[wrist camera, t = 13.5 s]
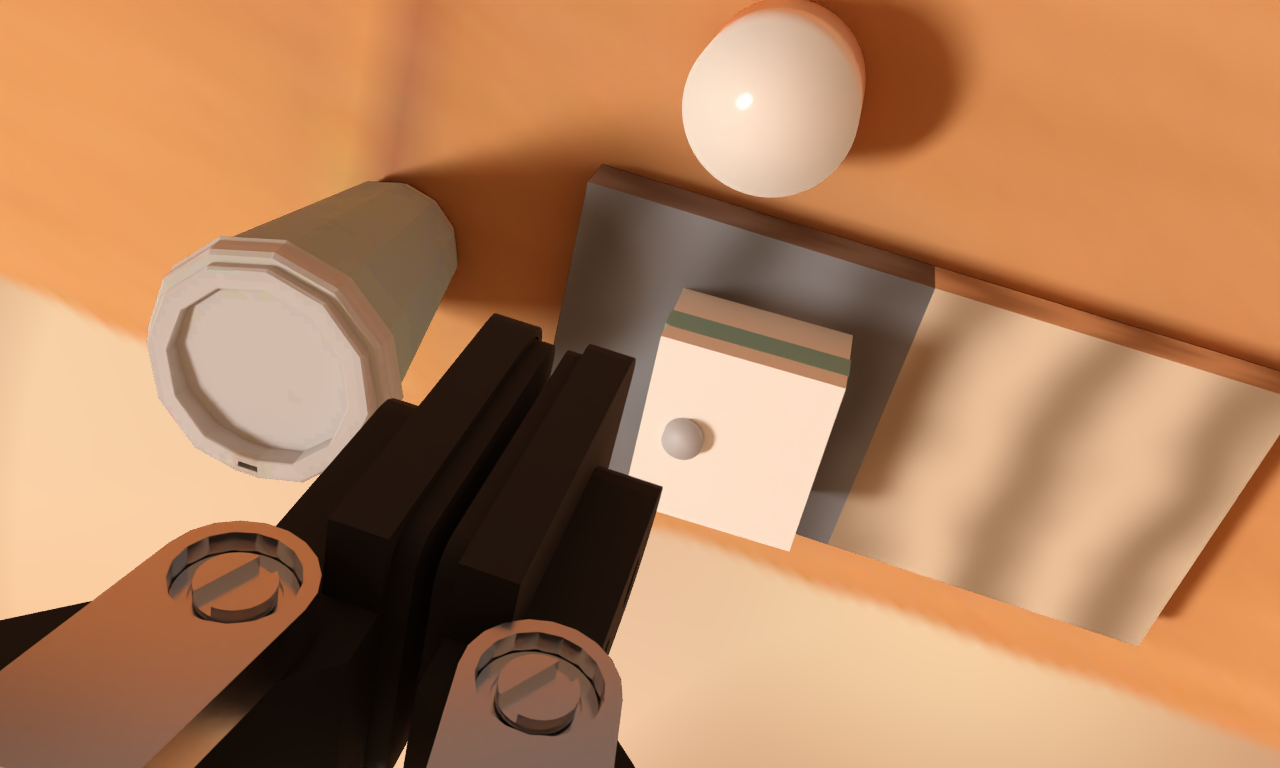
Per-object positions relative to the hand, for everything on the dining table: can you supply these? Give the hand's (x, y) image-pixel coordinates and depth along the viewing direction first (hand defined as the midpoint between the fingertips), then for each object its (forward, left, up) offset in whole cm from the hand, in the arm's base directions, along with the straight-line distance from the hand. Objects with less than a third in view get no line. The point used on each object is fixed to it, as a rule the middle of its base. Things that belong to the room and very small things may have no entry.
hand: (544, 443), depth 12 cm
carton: (-3, +19, -35) cm, 40 cm away
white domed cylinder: (0, +5, -37) cm, 38 cm away
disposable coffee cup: (+16, +18, -37) cm, 44 cm away
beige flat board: (-9, +18, -37) cm, 42 cm away
